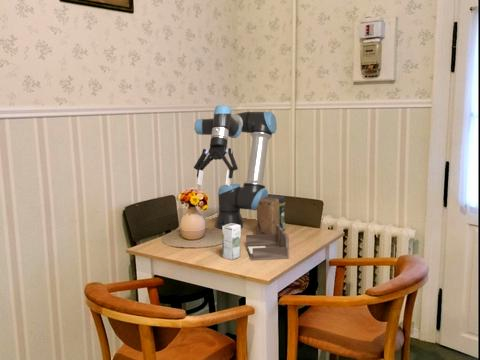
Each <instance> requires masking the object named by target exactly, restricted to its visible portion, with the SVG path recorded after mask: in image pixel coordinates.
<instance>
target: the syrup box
mask: <svg viewBox="0 0 480 360" xmlns="http://www.w3.org/2000/svg"><path fill="white" fill-rule="evenodd" d="M221 230H222V237H221V238H222V244H221V246H222V258H223V259H226V260H230V261H234V260H236V259H238V258H241V250H242V248H241V239H242V235H241V234H242V231H241V230H242V228H241V226H240V225H238V224H234V223H230V224H227V225H224V226H222V229H221Z"/></svg>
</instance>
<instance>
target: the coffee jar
mask: <svg viewBox="0 0 480 360" xmlns="http://www.w3.org/2000/svg"><path fill="white" fill-rule="evenodd" d="M268 197H272V198H277V199H278V200H279V209H280V227H281V228H282V229H283V231H285V229H286V215H285V207H286V202H287V201H286V197H285V196H284V195H276V194H270V195H268Z"/></svg>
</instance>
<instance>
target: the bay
mask: <svg viewBox="0 0 480 360" xmlns="http://www.w3.org/2000/svg"><path fill="white" fill-rule="evenodd" d="M245 236H246V237H245V238H246V240H245V243H244V247H245V249H246V251H247V253H248V255H249V258H250V260H251V261H269V260H270V261H272V260H289V259H290V254H289V253H290V236H288V234H287V233H286V232H285V230H283V229H282V228H281V227H280V226H279V224H278V225H276V234H245Z"/></svg>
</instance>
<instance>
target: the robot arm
mask: <svg viewBox="0 0 480 360" xmlns="http://www.w3.org/2000/svg"><path fill="white" fill-rule="evenodd" d="M277 127H278V126H277V117H276V115H275V114H274V113H273V111H265V110H264V111H243V112H238V113H233V114H232V108H231V107H230V106H228V105H226V104H218V105H217V106H215V107H214V113H213V118H212V117H211V118H199V119H196V120H195V122H194V132H195V133H196V134H197V135H201V136H204V135H205V136H206V135H207V136H209V135H210V136H211V138H210V143H209V149H205V148H203V149H202V151H201V152H202V153H201V155H200V156H199V158H198V159H197V161H196V163H195V164H194V166H193V168H194V170H196V171H197V172H196V178H197V182H196V183H197V186H200V187H202V185H203V177H204V171H203V170H204V169H206V167H207V166H208V165H209V164H210V163H211V162H212V161H213V160H216V161H217V160H222V161H223V162H224V164H225V165H226V167H227V168H228V169H227V170H226V176H225V177H226V178H225V183H224V185H221V186H219V187H218V194H217V195H218V214H217V216H216V220H215V228H218V229H219V230H222V226H224V225H227V224H230V223H234V224H238V225H240V226H241V229H242V228H243V227H244V221H243V217H242V214H241V210H249V211H250V210H251V211H257V206H258V202H259V200H260V199H262V198H264V197H268V196H269V192H268V190H267V188H266V185H265V184H264V178H265V177H264V176H265V167H266V160H267V153H268V146H269V145H268V144H269V140H270V139H271V138H272V136H273V135H274V134H275V133H277V132H276V131H277ZM242 133H248V134H250V137H252V140H251V148H250V149H251V150H250V153H249V154H250V157H249V163H248V170H247V178H246V181H245V182H244V183H243V186H241V185H240V183H231V179H233V174H234V172H235V171H237V170H238V169H239V168H238V165H237V163H236V159H235V157H234V151H233V149H232V148H231V147H230V148H228V140H229V138H230V139H231V138H232V139H235V138H238V137H239V136H240V135H241V134H242ZM227 148H228V149H227ZM226 154H228V156H229V157H228V158H229V160H230V161H228V159H227V157H226Z"/></svg>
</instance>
